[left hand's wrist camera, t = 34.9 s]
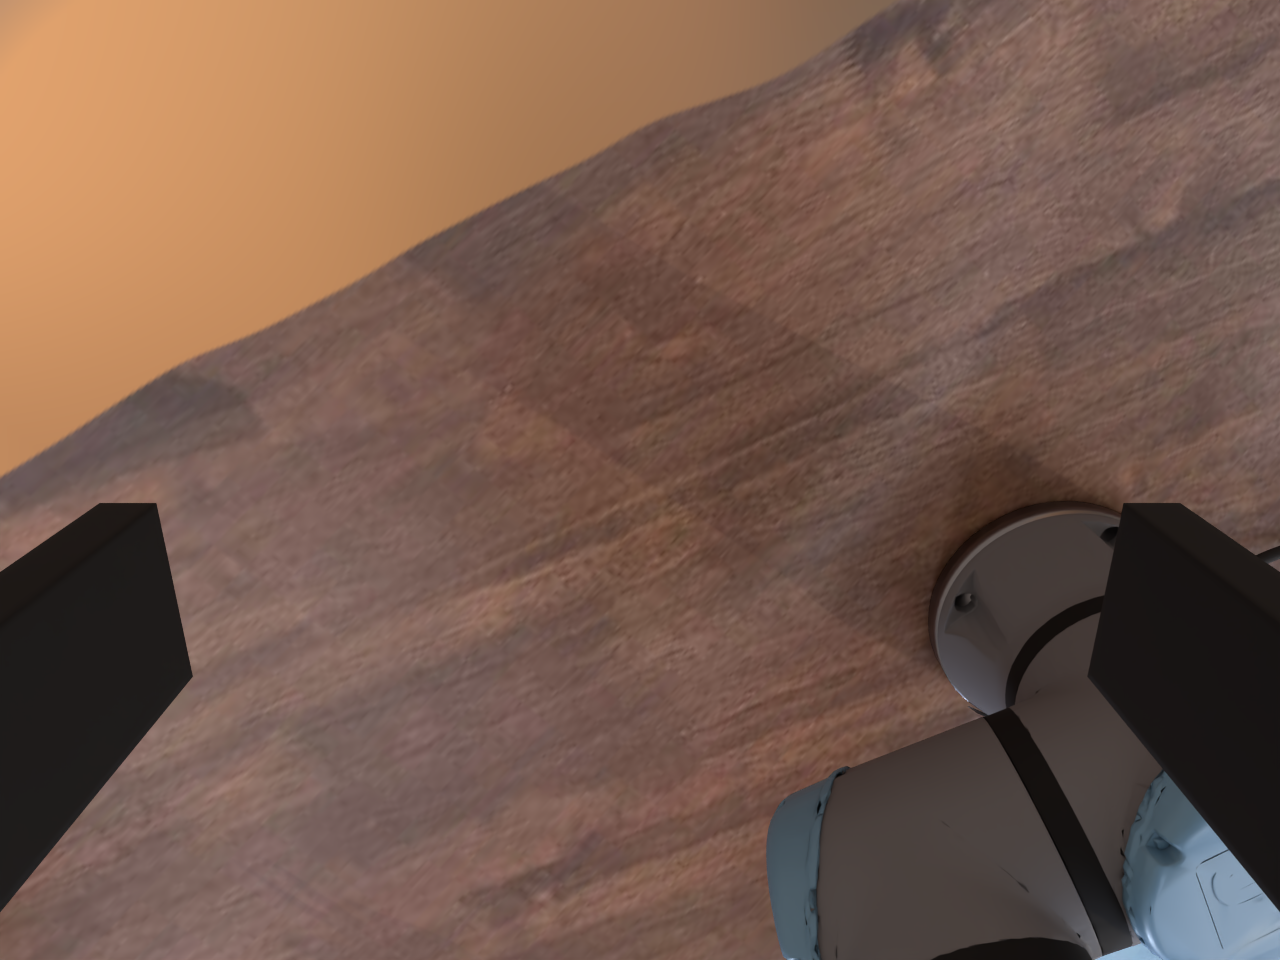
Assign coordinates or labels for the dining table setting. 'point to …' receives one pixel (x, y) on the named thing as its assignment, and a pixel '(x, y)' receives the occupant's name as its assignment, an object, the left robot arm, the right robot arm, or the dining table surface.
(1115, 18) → the dining table surface
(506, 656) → the dining table surface
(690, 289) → the dining table surface
